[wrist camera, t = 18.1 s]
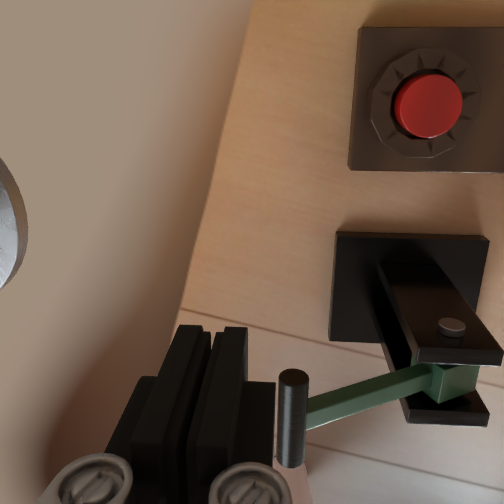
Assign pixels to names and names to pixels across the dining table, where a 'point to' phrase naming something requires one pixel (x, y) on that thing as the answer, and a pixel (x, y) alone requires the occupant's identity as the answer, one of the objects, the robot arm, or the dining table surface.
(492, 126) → the button block
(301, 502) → the smoothie
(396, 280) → the bracket
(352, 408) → the lever
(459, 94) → the button
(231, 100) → the dining table surface
